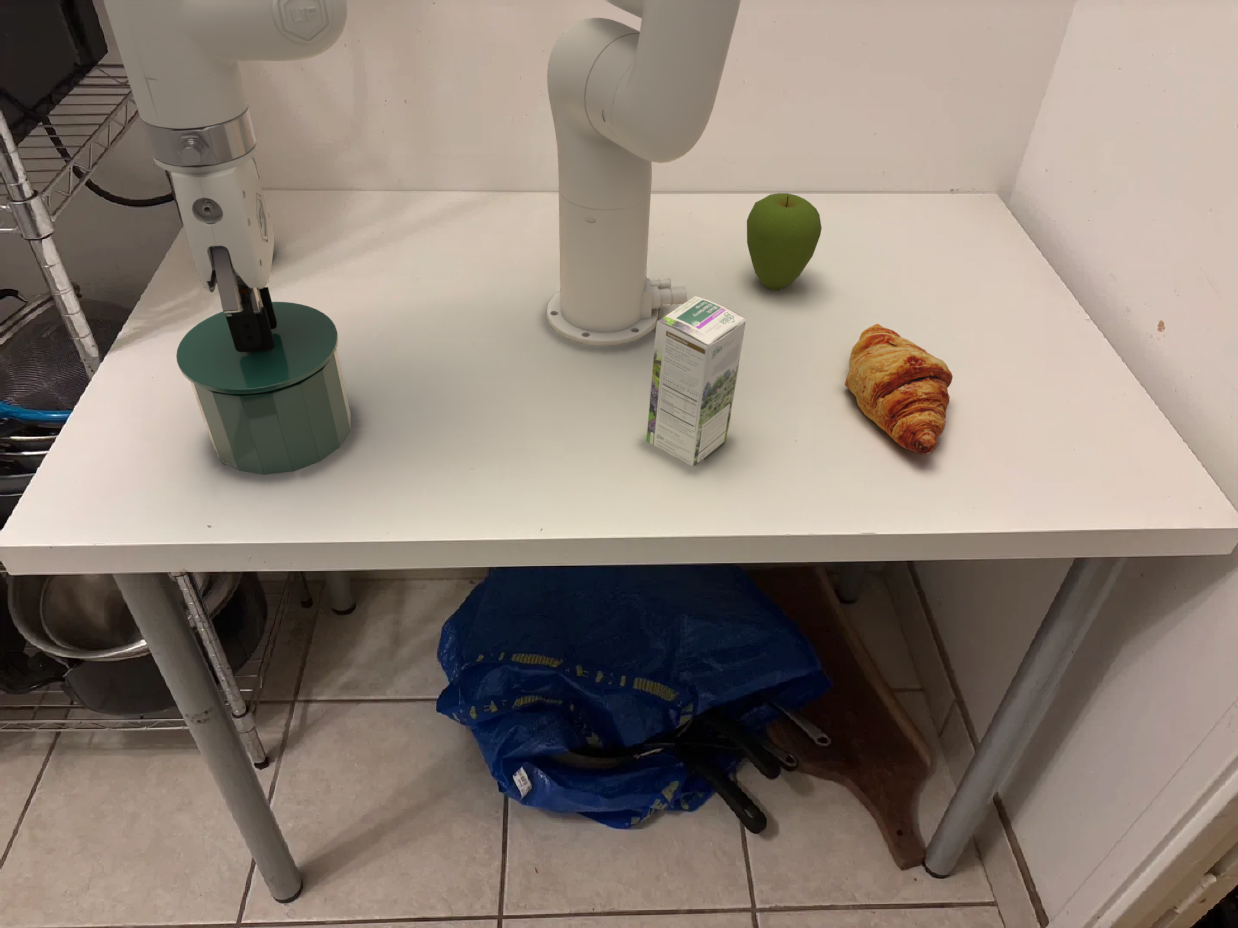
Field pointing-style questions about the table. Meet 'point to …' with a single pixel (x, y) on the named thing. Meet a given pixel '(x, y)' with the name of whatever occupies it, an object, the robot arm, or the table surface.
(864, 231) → the table surface
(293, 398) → the canister
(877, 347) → the croissant
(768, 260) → the apple
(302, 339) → the lid
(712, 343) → the syrup box
